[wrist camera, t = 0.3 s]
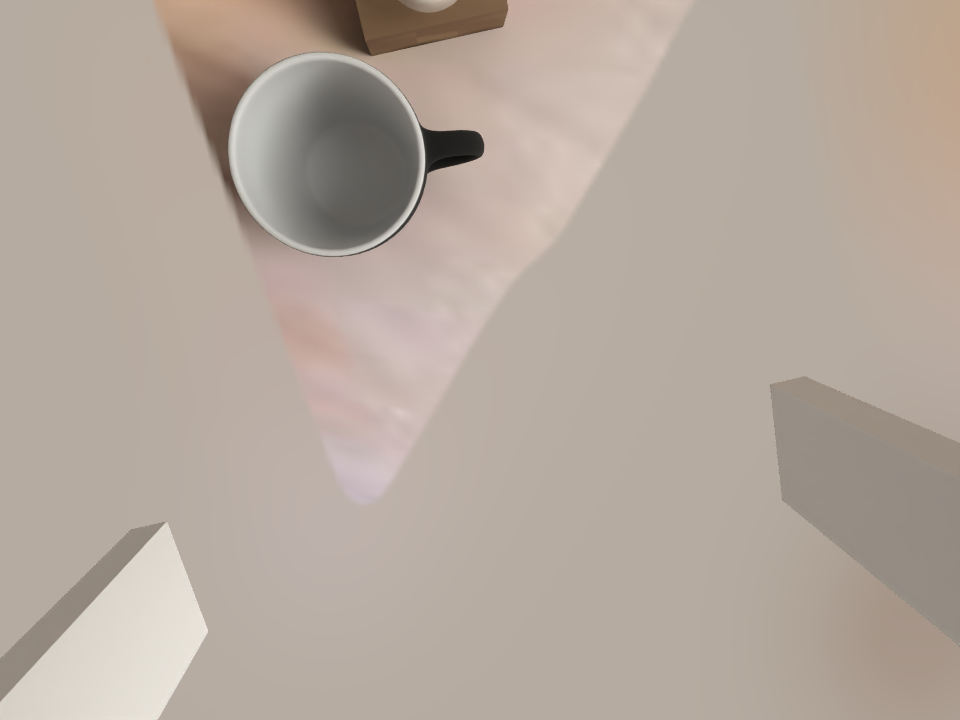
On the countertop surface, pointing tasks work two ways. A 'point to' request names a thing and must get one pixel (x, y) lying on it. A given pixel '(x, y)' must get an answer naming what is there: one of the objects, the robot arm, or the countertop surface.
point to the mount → (424, 22)
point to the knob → (428, 5)
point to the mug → (334, 154)
